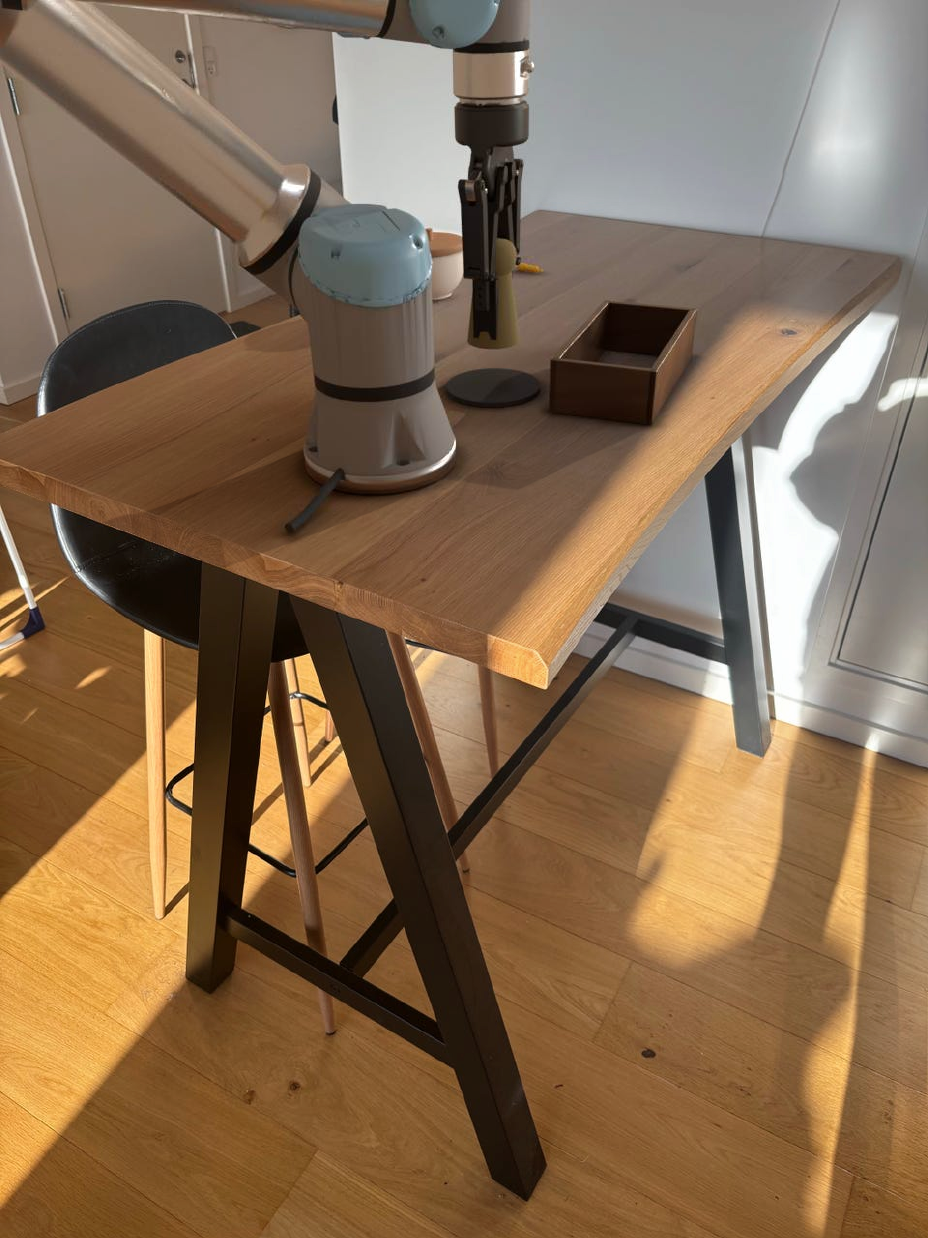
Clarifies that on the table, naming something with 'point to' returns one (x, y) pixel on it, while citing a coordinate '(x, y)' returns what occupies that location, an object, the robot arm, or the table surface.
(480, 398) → the coaster
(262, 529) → the table surface
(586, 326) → the box
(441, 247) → the trinket box
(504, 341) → the cork
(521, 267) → the multicoloured piece
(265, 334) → the table surface
